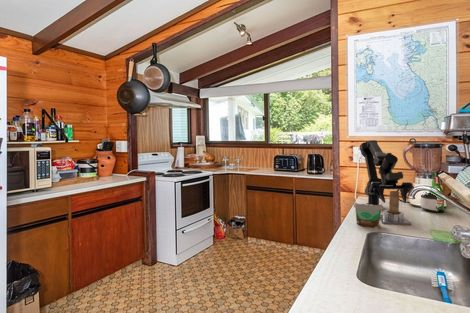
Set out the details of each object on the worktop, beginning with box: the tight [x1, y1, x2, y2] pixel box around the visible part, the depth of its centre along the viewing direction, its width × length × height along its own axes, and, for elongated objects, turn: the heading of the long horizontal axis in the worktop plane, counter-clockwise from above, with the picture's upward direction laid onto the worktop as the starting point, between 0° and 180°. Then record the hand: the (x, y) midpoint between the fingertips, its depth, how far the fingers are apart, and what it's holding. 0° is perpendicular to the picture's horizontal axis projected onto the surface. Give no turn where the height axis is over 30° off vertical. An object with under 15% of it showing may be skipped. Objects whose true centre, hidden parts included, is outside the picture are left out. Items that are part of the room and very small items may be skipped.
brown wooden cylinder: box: [388, 190, 400, 214], centre depth 145 cm, size 4×4×13 cm
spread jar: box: [419, 188, 441, 213], centre depth 164 cm, size 12×11×12 cm
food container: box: [353, 201, 384, 228], centre depth 138 cm, size 12×6×10 cm, turn 70°
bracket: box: [379, 209, 412, 226], centre depth 146 cm, size 12×12×4 cm
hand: (395, 202), depth 144 cm, fingers open, 9 cm apart
